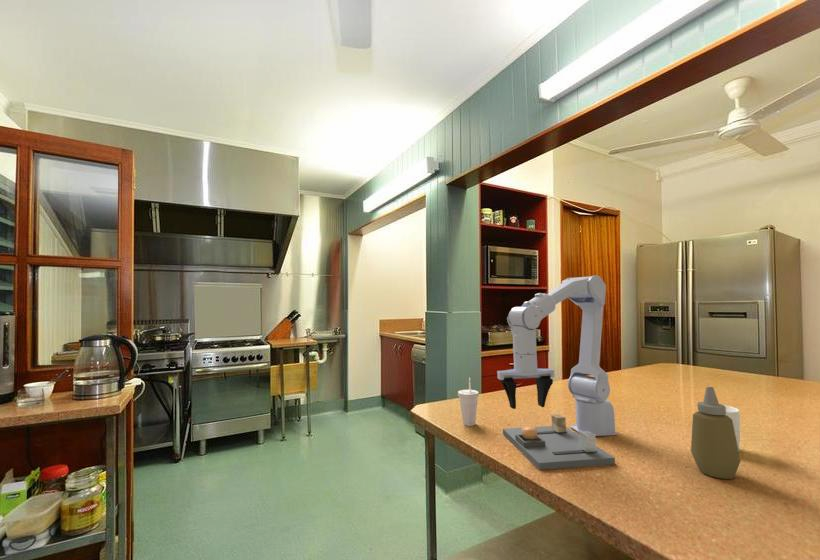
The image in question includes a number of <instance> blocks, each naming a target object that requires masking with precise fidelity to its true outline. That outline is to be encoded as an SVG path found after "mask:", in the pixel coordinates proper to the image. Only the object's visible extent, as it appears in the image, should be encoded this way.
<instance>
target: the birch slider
mask: <svg viewBox="0 0 820 560" xmlns="http://www.w3.org/2000/svg"><path fill="white" fill-rule="evenodd" d="M551 426H552V429H553V430H555V431H556V432H566V427H567V423H566V417H565V416H564V415H562V414H560V413H556V414H555V413H554V414H551Z"/></svg>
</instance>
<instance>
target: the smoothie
mask: <svg viewBox="0 0 820 560" xmlns="http://www.w3.org/2000/svg"><path fill="white" fill-rule="evenodd" d="M471 380H472V379H471V377H468V389H461V390H458V391H457V396H458V397H459V405H460V411H461V419H462V425H463V426H466V425H467V427H474V426H475V425H476V419H477V409H478V397H479V395H480V394H479V391H478V390H475V389H472V386H471V385H472V384H471ZM473 425H474V426H473Z"/></svg>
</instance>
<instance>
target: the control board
mask: <svg viewBox="0 0 820 560" xmlns="http://www.w3.org/2000/svg"><path fill="white" fill-rule="evenodd" d="M534 427H535V428H537V438H536V439H526V438H524V437H523V436H522V427H512V428H511V427H510V428H509V427H508V428H502V435H503V436H504V437H505V438H506V439H507V440H508V441H509V442H511V444H512V445H513V446H514V447H515V448H516V449H517V450H520V451H519V452H521V453H522V455H524V457H525V458H526V459H528V460H529V462H530V463H531V464H533V466H534V467H536V468H537V470H538V471H543V470H546V471H547V470H556V469H557V470H558V469H559V470H560V469H570V468H572V469H573V468H585V467H586V468H587V467H598V466H612V465H613V466H614V465H616V458H615V457H614V456H613V455H612V454H610V453H608V452H606V451H605V450H603V449H602V448H600V447H599V446H597V445H596V452H585V451H584V450H582V449H581V448H579V436H578V433H576V432H575V431H573V429H570V428H568V427H567V426H566V432H556V431H555V430H553V429H552V425H545V426H543V425H542V426H534Z"/></svg>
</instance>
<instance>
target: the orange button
mask: <svg viewBox="0 0 820 560" xmlns="http://www.w3.org/2000/svg"><path fill="white" fill-rule="evenodd" d="M535 427H536V426H532V425H525V426H522V427H521V428H522V436H523V437H524V438H526V439H536V438H537V428H535Z"/></svg>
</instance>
